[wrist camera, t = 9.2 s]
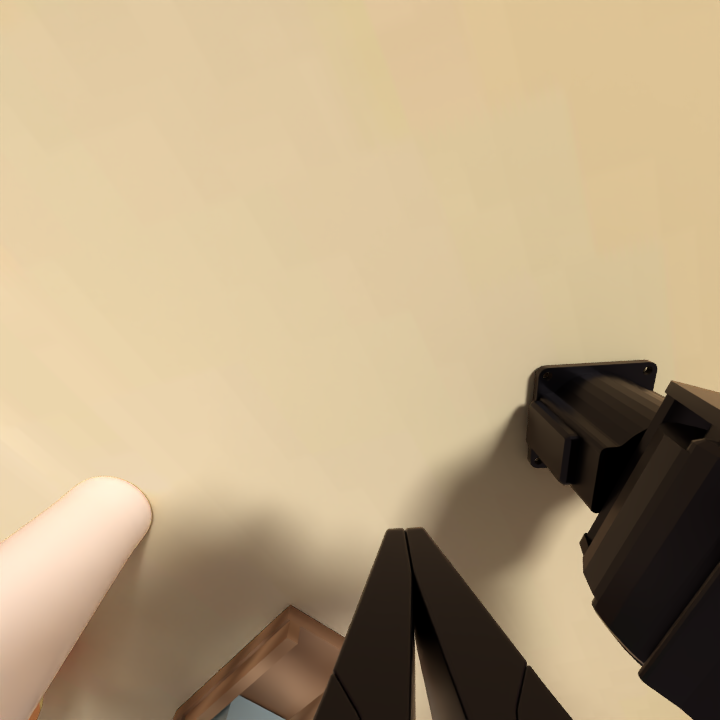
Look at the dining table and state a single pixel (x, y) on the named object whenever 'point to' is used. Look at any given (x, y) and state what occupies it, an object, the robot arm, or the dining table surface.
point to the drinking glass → (61, 582)
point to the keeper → (245, 711)
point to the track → (273, 671)
